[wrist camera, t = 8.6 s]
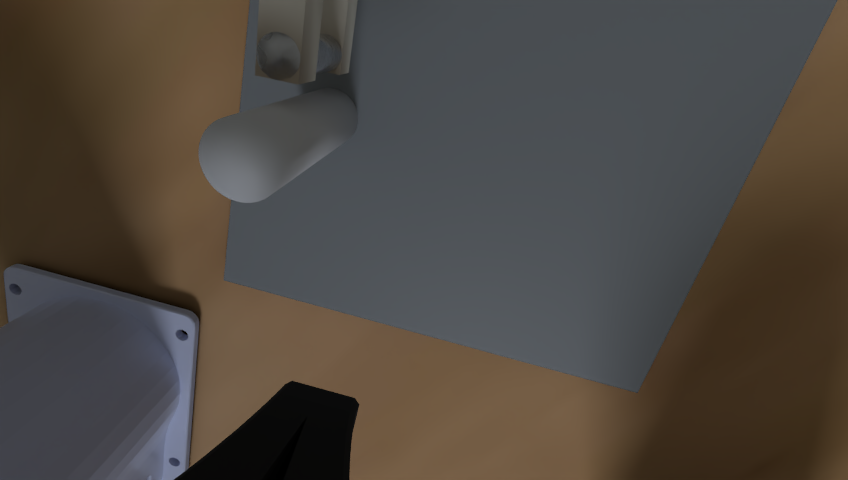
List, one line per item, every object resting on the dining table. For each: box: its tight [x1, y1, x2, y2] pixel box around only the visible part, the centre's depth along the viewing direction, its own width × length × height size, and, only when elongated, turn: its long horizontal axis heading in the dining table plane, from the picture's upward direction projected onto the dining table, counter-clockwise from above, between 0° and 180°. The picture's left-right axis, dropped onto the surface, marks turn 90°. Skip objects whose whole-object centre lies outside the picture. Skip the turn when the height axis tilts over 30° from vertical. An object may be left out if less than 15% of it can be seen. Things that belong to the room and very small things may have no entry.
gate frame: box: [199, 0, 837, 393], centre depth 12 cm, size 21×16×7 cm
